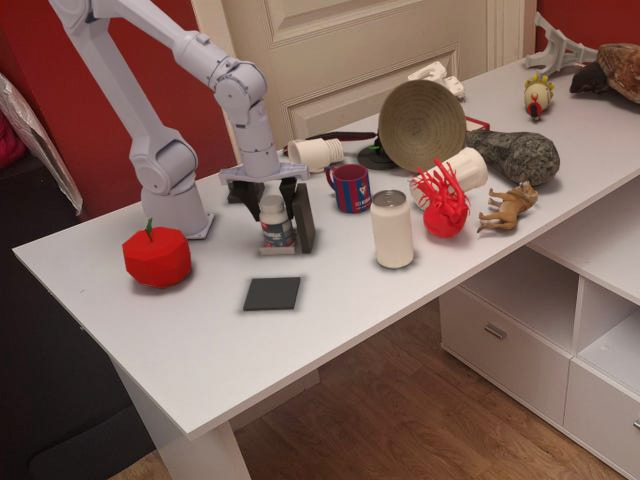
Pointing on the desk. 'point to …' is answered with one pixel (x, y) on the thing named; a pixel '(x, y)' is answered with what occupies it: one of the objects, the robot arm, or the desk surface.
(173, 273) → the apple
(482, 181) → the cup
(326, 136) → the toy
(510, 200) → the lion figurine
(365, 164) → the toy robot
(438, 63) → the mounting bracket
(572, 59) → the eiffel tower
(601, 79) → the sculpture
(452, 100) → the bowl
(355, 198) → the cup
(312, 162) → the downlight
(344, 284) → the desk surface
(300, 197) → the upright grey panel
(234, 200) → the block
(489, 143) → the decorative stone
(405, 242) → the can
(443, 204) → the heart organ
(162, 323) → the desk surface
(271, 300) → the coaster
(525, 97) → the toy
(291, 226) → the pill bottle
